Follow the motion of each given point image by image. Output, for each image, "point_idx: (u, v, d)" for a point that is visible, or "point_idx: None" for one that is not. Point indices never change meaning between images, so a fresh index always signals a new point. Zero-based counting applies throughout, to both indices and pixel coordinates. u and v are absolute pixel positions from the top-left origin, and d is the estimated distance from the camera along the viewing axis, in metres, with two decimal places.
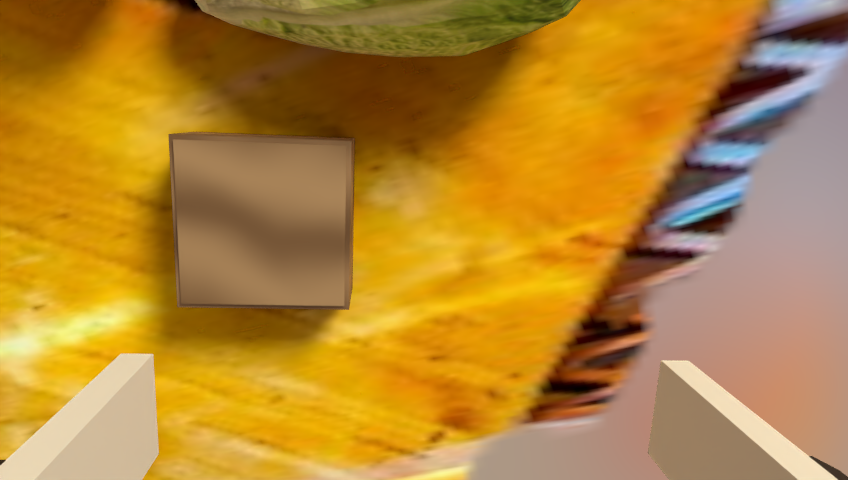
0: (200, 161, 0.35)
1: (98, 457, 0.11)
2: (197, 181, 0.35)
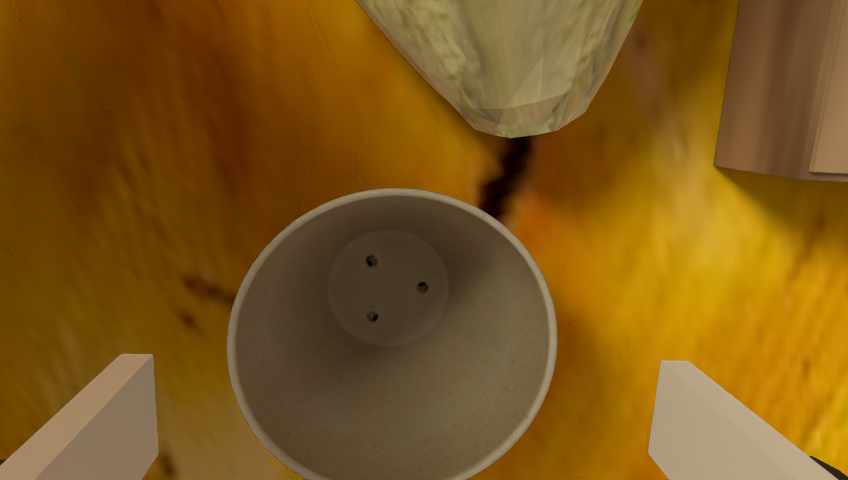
0: None
1: (98, 457, 0.11)
2: None
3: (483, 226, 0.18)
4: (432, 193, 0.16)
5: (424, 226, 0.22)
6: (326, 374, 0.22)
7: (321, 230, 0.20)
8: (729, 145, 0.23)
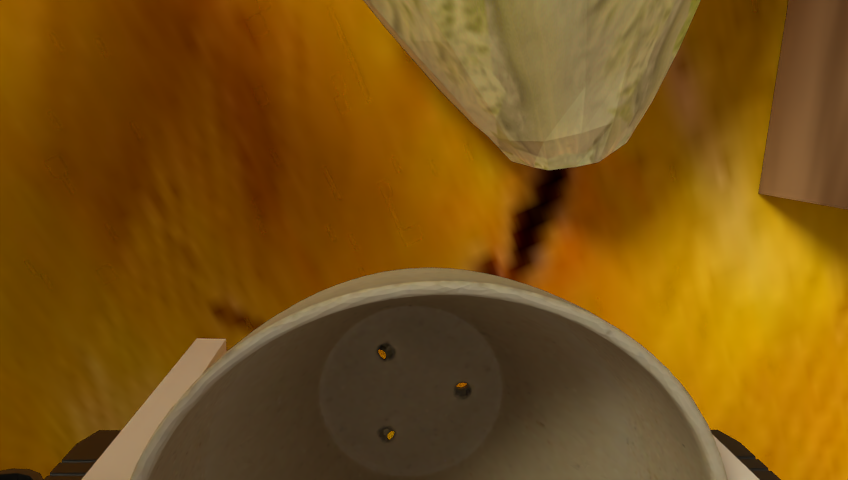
0: None
1: None
2: None
3: (591, 335, 0.10)
4: (511, 290, 0.08)
5: (470, 306, 0.14)
6: None
7: None
8: (776, 173, 0.22)
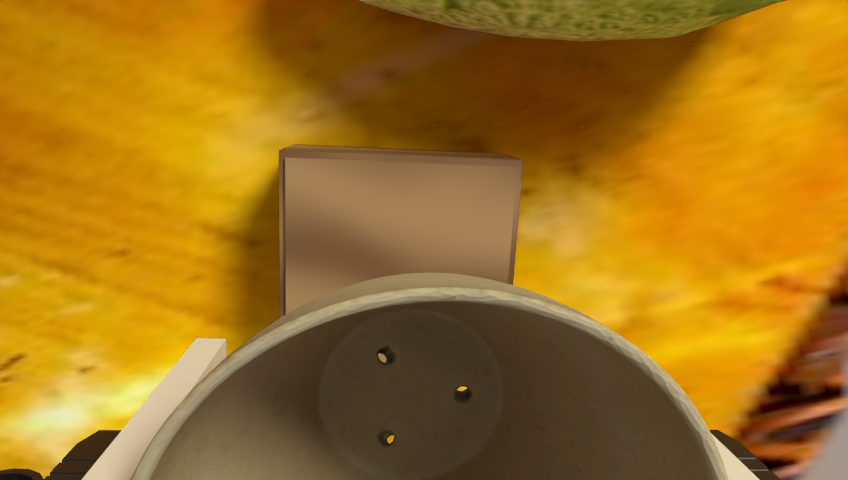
0: (321, 187, 0.26)
1: None
2: (315, 214, 0.26)
3: (592, 340, 0.10)
4: (512, 297, 0.08)
5: (471, 310, 0.14)
6: None
7: None
8: (310, 146, 0.30)
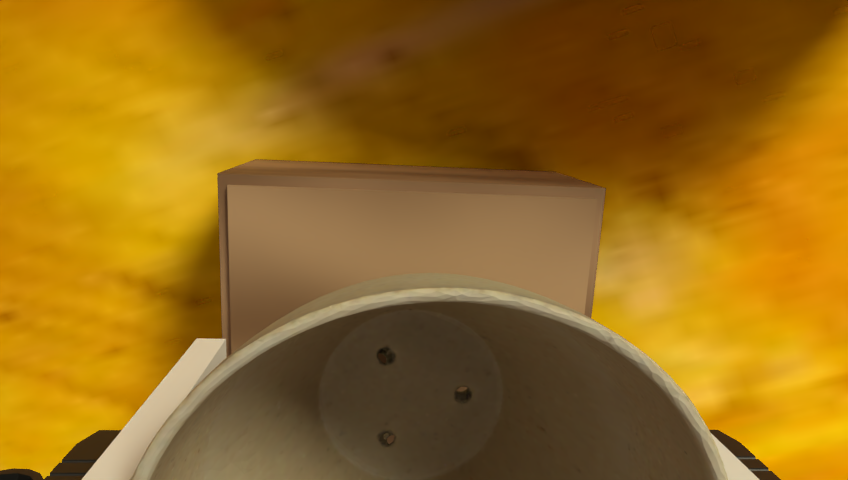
0: (285, 232, 0.16)
1: None
2: (278, 274, 0.16)
3: (592, 341, 0.10)
4: (512, 297, 0.08)
5: (470, 310, 0.14)
6: None
7: None
8: (276, 162, 0.20)
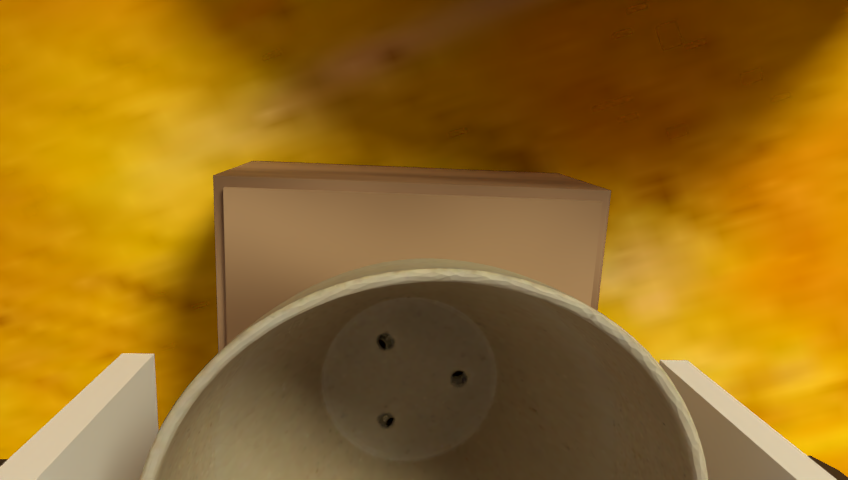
0: (283, 236, 0.16)
1: (99, 456, 0.11)
2: (275, 279, 0.16)
3: (578, 321, 0.11)
4: (501, 277, 0.09)
5: (465, 297, 0.15)
6: None
7: (308, 312, 0.13)
8: (274, 163, 0.19)
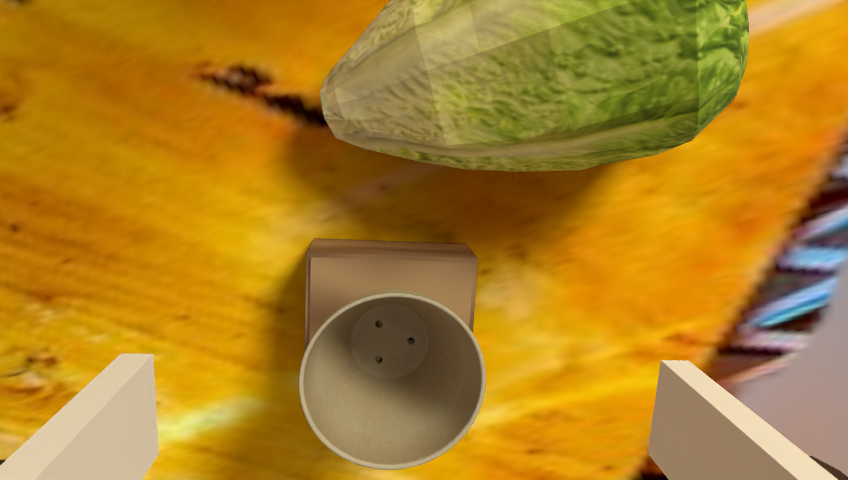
0: (335, 278, 0.37)
1: (98, 457, 0.11)
2: (331, 296, 0.37)
3: None
4: (414, 295, 0.30)
5: (412, 304, 0.36)
6: (350, 396, 0.35)
7: (349, 309, 0.34)
8: (325, 241, 0.40)
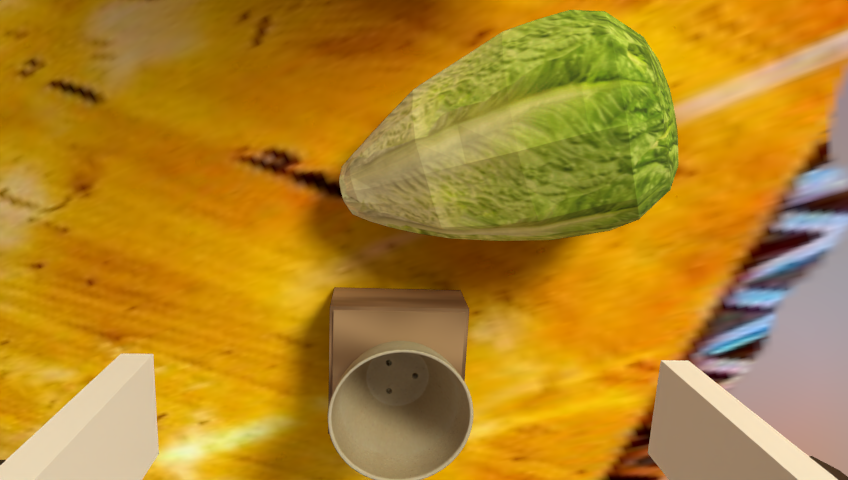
0: (353, 326, 0.45)
1: (98, 457, 0.11)
2: (350, 341, 0.46)
3: None
4: (416, 351, 0.39)
5: None
6: (366, 422, 0.44)
7: None
8: (344, 290, 0.49)
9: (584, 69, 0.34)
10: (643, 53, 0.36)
